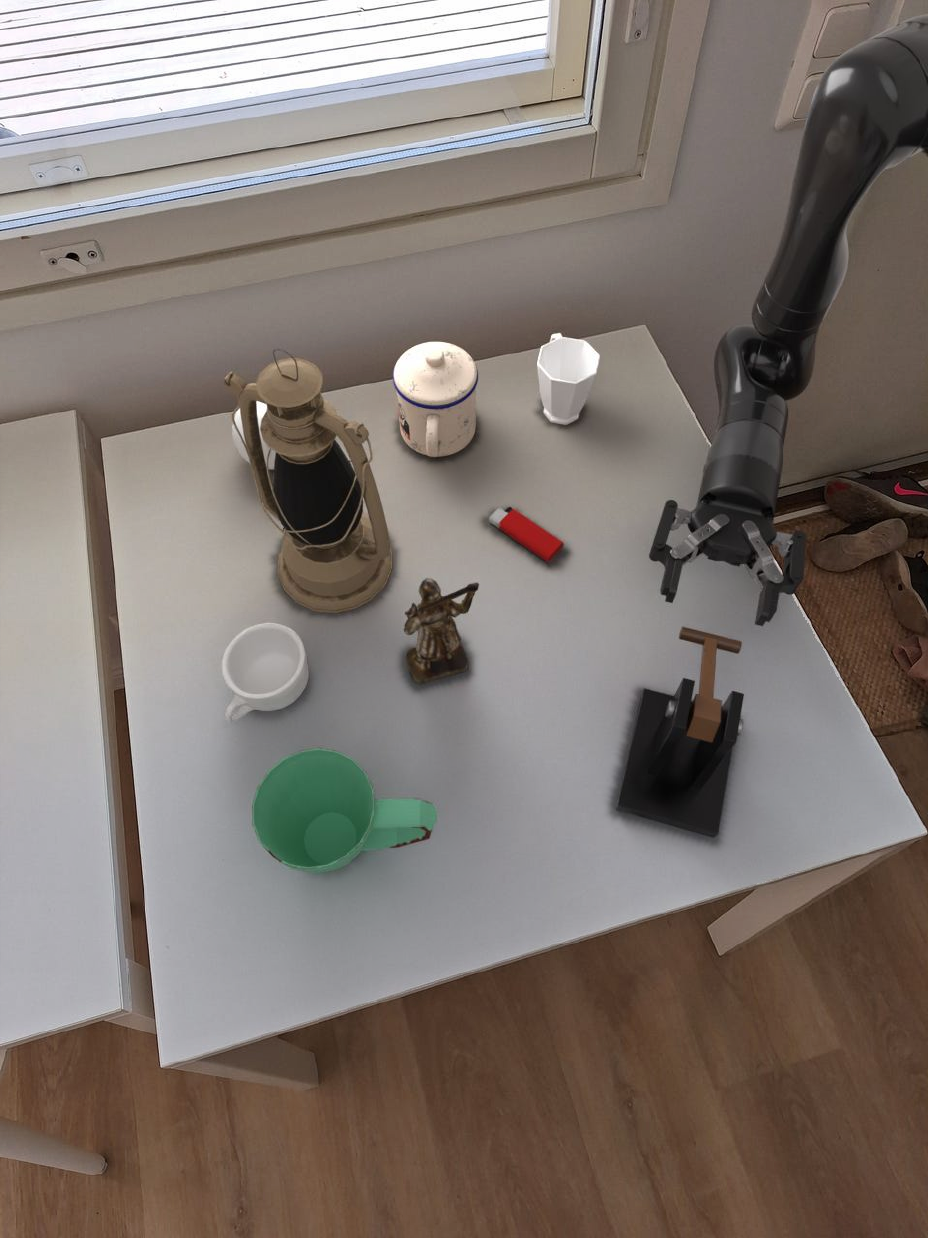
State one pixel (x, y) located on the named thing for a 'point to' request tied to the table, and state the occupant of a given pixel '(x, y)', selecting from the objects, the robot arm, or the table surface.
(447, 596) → the figurine
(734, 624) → the table surface
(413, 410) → the teacup with lid
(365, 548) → the lantern
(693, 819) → the bracket
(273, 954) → the table surface
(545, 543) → the lighter
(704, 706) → the lever
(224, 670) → the teacup
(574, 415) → the cup
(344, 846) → the mug
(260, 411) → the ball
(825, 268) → the robot arm
